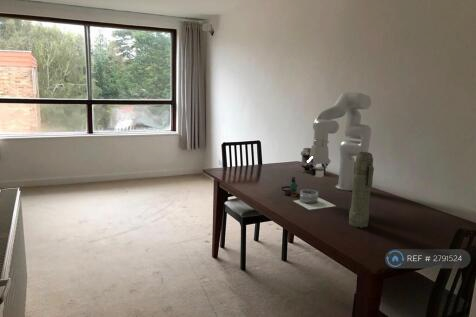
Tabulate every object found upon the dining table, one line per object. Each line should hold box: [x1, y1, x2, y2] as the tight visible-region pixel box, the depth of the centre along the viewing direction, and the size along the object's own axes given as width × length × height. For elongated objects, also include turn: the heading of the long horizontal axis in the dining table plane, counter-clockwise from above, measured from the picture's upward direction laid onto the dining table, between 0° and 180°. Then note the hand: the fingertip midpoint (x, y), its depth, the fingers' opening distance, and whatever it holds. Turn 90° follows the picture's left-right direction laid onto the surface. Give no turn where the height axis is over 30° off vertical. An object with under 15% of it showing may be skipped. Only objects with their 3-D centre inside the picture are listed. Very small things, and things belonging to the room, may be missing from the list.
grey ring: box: [299, 188, 319, 204], centre depth 203 cm, size 10×10×6 cm
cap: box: [313, 165, 325, 178], centre depth 200 cm, size 6×6×5 cm
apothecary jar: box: [299, 147, 314, 174], centre depth 276 cm, size 12×12×18 cm
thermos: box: [348, 151, 375, 229], centre depth 168 cm, size 9×12×35 cm
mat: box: [293, 197, 336, 211], centre depth 200 cm, size 18×16×1 cm
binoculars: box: [280, 176, 299, 197], centre depth 216 cm, size 9×11×10 cm
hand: (317, 174), depth 200 cm, fingers closed on cap, 6 cm apart
